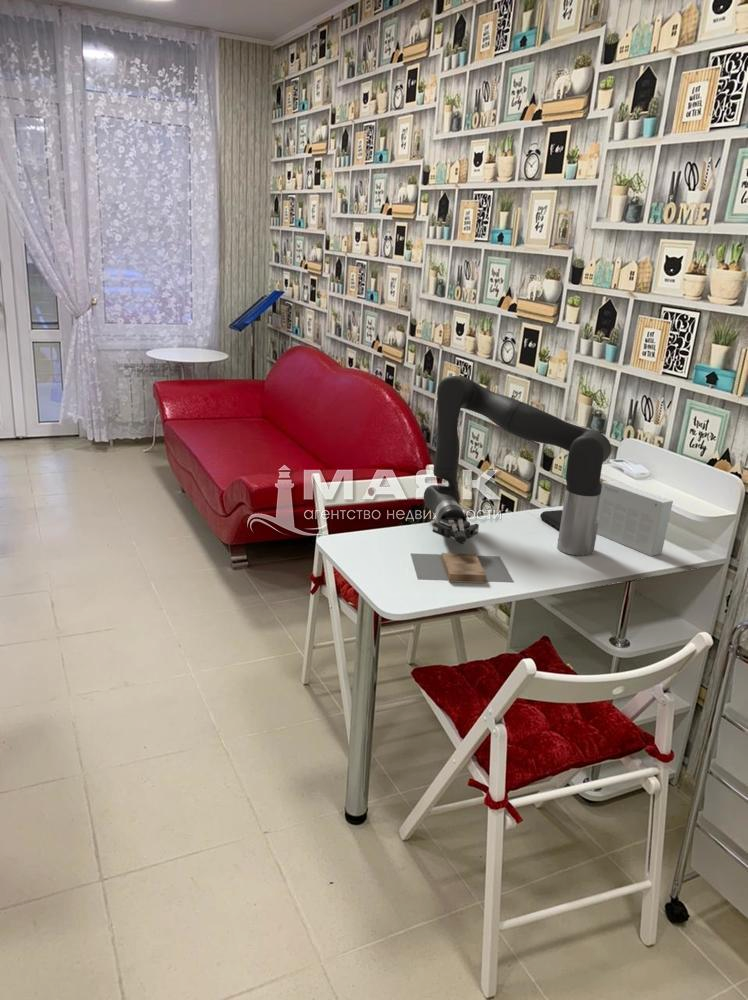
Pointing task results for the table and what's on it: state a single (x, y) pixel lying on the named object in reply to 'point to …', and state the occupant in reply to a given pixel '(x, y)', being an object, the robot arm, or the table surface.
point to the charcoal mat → (434, 570)
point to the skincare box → (633, 517)
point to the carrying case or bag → (552, 518)
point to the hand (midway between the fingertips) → (461, 540)
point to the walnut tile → (463, 567)
